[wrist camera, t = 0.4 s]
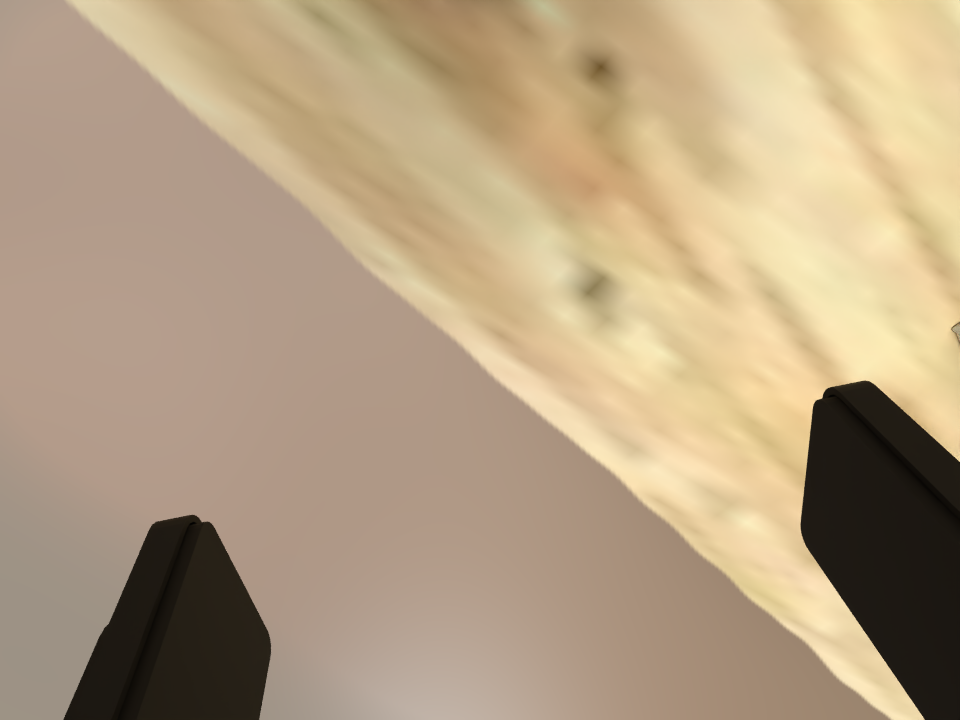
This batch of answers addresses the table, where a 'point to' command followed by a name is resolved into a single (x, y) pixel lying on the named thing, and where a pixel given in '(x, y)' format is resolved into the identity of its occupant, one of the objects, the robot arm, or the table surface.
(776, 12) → the table surface
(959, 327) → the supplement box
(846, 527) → the robot arm
